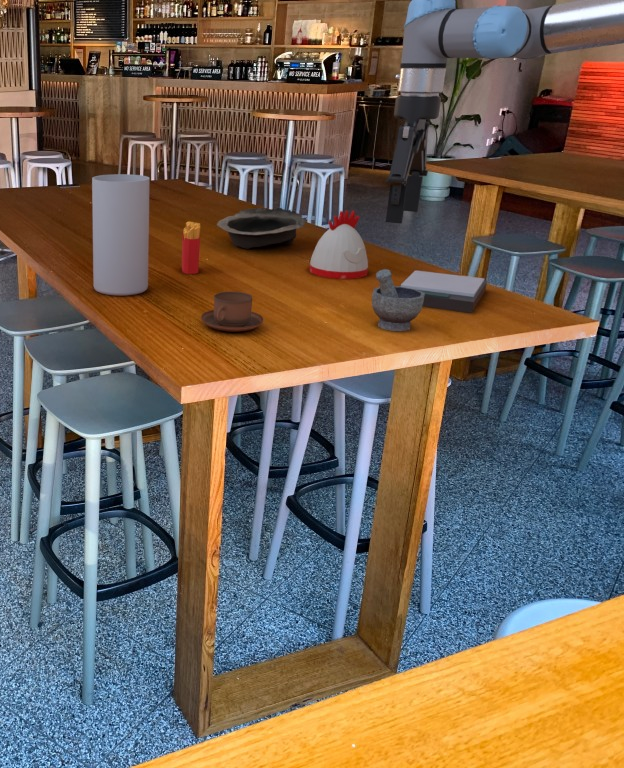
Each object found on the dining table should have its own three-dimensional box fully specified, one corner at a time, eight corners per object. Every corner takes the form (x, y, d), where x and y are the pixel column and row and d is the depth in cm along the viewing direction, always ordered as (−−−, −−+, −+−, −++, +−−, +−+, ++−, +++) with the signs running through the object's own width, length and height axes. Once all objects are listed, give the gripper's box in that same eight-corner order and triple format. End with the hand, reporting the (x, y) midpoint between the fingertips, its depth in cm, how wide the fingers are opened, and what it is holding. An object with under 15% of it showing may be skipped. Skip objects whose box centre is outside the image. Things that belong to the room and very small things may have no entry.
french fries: (180, 267, 202) (181, 219, 197) (195, 266, 202) (197, 219, 197) (184, 275, 194) (185, 226, 189) (200, 275, 194) (202, 226, 189)
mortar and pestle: (392, 316, 162) (399, 258, 157) (430, 328, 154) (439, 268, 150) (353, 325, 156) (360, 265, 152) (391, 338, 149) (399, 275, 144)
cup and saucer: (259, 338, 149) (261, 307, 146) (196, 333, 152) (197, 302, 149) (265, 320, 159) (267, 290, 157) (206, 316, 162) (207, 286, 160)
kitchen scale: (471, 313, 164) (474, 298, 162) (392, 302, 171) (394, 288, 170) (485, 291, 179) (487, 277, 178) (412, 282, 187) (414, 269, 186)
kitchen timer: (378, 275, 193) (386, 213, 187) (330, 280, 188) (336, 217, 183) (345, 263, 205) (351, 204, 199) (298, 267, 201) (304, 208, 195)
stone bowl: (304, 237, 234) (307, 206, 230) (302, 262, 212) (306, 228, 208) (220, 232, 239) (222, 202, 235) (211, 256, 217) (212, 223, 213)
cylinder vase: (154, 295, 177) (155, 180, 168) (99, 298, 175) (98, 182, 165) (140, 281, 188) (141, 173, 179) (89, 284, 186) (87, 175, 177)
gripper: (411, 92, 150) (396, 205, 158) (379, 96, 130) (364, 225, 138) (453, 93, 147) (435, 208, 155) (427, 97, 127) (408, 230, 135)
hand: (402, 216), depth 147 cm, fingers open, 13 cm apart
